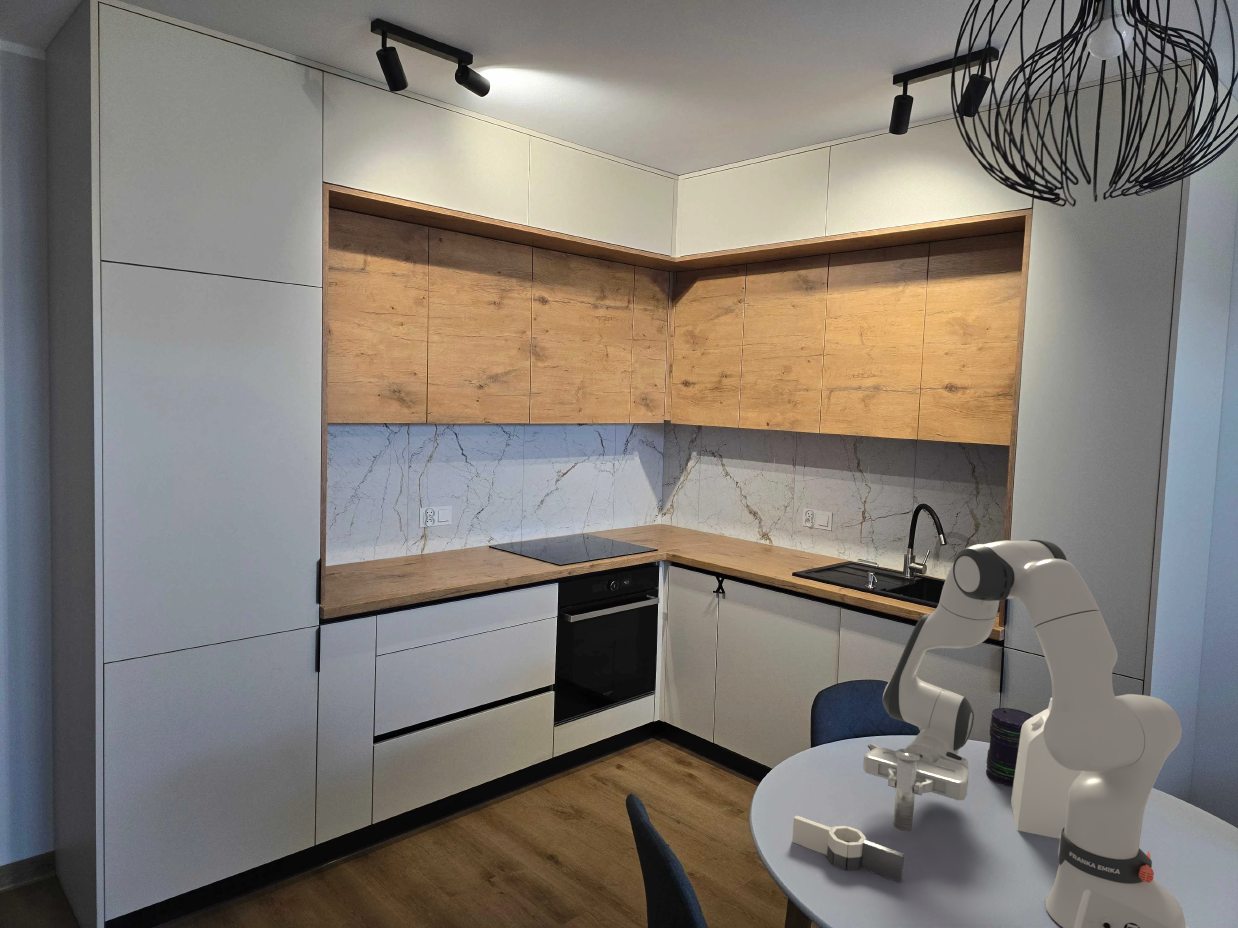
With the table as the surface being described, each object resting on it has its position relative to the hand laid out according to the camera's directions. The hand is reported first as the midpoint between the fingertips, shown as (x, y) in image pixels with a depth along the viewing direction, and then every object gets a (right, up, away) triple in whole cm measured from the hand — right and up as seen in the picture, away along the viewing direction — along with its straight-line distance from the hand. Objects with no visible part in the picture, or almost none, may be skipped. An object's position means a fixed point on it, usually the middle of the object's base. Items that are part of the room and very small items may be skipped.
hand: (904, 786), depth 165 cm
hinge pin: (0, -8, +2) cm, 9 cm away
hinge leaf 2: (-10, -12, -8) cm, 18 cm away
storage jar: (+35, -10, +31) cm, 48 cm away
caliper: (+8, -9, +35) cm, 37 cm away
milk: (+33, -12, +12) cm, 37 cm away
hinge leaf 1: (-16, -11, -4) cm, 20 cm away
